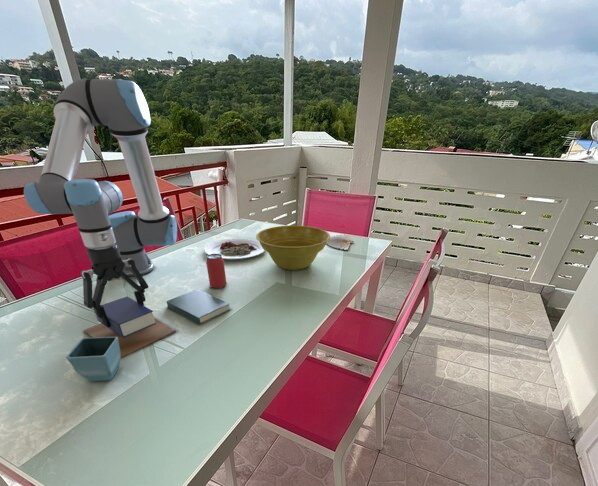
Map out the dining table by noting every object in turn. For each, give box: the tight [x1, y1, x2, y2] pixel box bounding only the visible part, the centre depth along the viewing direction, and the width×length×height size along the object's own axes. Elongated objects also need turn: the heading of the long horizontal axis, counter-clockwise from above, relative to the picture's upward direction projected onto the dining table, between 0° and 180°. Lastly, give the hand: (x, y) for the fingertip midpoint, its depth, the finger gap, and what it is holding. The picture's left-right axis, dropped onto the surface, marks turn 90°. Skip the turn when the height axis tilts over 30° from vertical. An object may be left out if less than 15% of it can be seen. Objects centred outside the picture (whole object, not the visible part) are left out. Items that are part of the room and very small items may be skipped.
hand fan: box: [326, 233, 354, 251], centre depth 178 cm, size 26×1×15 cm
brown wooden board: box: [83, 317, 177, 359], centre depth 102 cm, size 22×18×1 cm
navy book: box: [92, 296, 156, 338], centre depth 99 cm, size 15×10×4 cm
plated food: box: [204, 238, 266, 261], centre depth 163 cm, size 30×30×3 cm
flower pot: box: [65, 337, 122, 382], centre depth 83 cm, size 9×9×9 cm
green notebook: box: [165, 288, 231, 325], centre depth 115 cm, size 18×13×2 cm
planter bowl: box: [255, 225, 331, 271], centre depth 147 cm, size 32×32×13 cm
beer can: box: [205, 254, 228, 289], centre depth 128 cm, size 7×7×12 cm
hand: (125, 318), depth 100 cm, fingers closed on navy book, 10 cm apart
